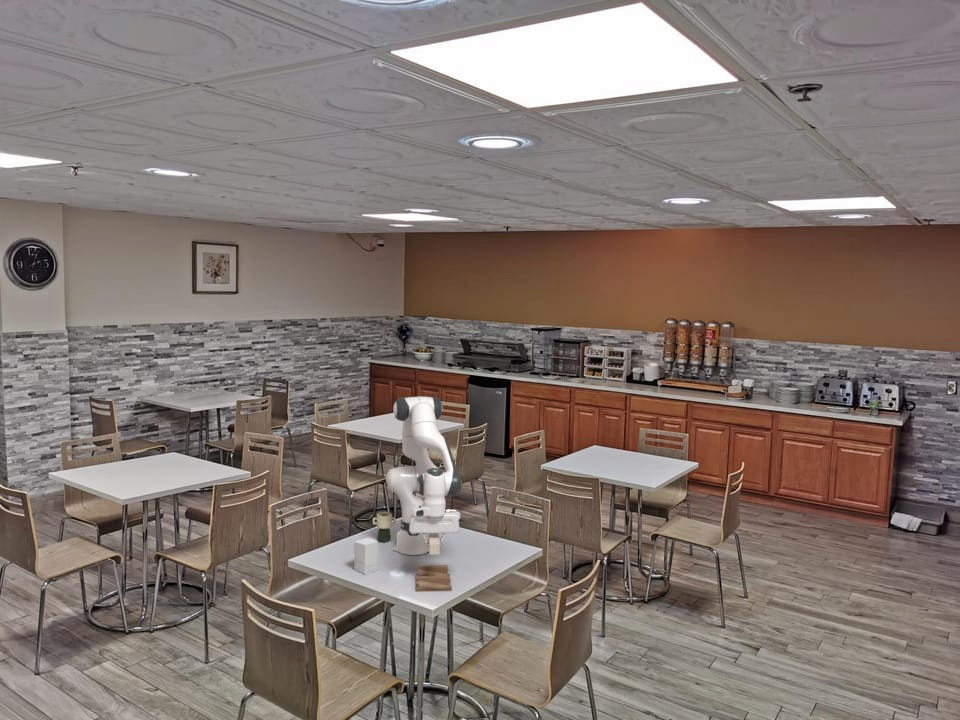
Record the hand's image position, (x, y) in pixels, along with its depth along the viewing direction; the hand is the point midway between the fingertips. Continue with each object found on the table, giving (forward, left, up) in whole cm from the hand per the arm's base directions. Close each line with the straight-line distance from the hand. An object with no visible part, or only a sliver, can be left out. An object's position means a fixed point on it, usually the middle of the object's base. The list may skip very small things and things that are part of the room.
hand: (434, 543), depth 286 cm
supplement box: (-16, -28, -17) cm, 36 cm away
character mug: (-54, -22, -17) cm, 61 cm away
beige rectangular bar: (0, 0, -2) cm, 2 cm away
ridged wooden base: (0, 0, -17) cm, 17 cm away
